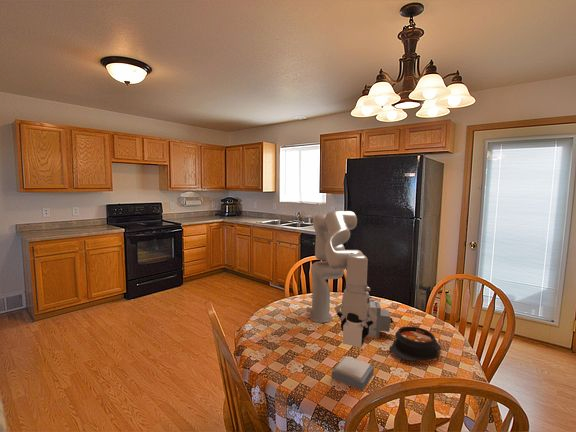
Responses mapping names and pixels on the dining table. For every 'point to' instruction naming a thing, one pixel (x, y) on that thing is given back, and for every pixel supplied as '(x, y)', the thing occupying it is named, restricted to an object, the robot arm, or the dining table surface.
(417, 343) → the casserole
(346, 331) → the medicine bottle
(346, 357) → the stand
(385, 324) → the circuit breaker
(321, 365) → the dining table surface
